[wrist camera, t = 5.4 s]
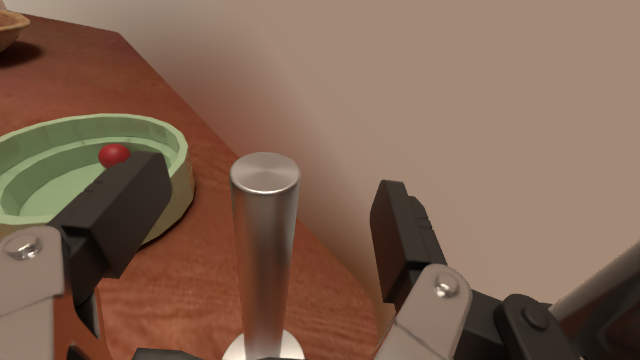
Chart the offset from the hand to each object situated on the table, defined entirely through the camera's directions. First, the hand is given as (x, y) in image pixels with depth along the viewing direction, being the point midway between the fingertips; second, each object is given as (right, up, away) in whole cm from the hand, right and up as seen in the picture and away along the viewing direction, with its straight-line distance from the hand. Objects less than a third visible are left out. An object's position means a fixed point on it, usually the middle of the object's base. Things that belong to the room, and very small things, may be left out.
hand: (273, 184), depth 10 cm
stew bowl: (-21, -2, +19) cm, 29 cm away
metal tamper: (-2, -14, +9) cm, 16 cm away
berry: (-22, +3, +22) cm, 31 cm away
